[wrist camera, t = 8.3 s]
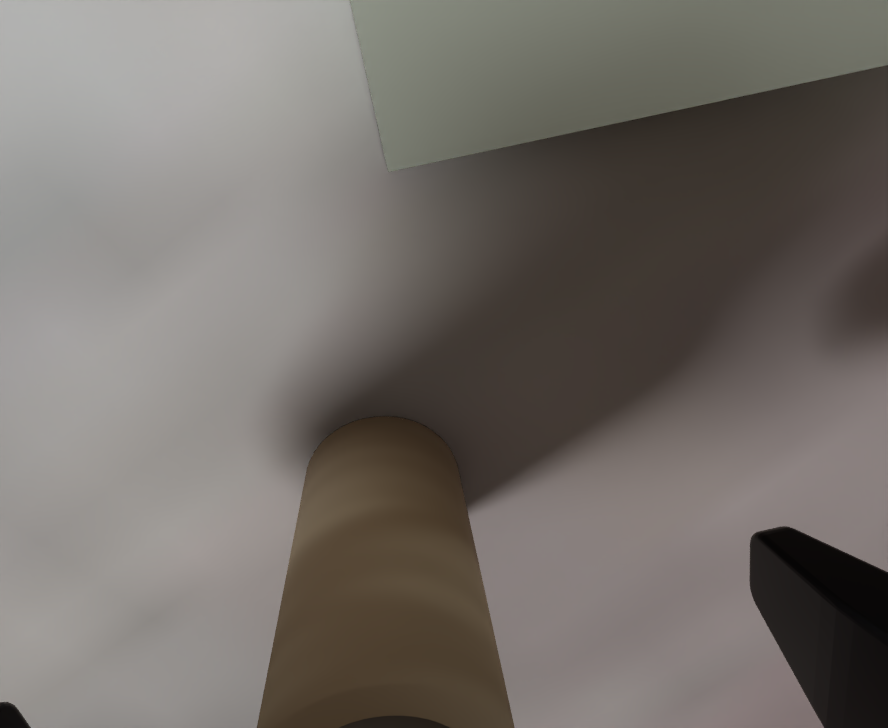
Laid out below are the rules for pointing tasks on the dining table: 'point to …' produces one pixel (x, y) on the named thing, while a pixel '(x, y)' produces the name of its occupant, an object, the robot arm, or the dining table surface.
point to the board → (588, 63)
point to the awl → (384, 593)
